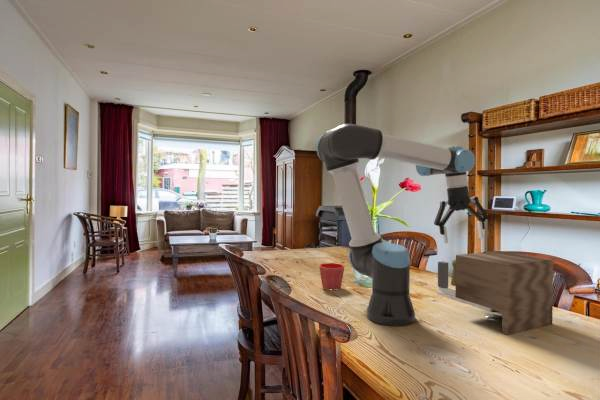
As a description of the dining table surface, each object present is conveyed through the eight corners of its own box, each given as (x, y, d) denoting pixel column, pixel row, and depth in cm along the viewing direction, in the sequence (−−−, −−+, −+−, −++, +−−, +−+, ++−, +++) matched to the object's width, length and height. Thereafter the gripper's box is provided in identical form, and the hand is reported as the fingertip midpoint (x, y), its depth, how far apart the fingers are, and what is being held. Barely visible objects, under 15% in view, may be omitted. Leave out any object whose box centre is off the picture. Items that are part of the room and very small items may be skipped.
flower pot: (348, 286, 154) (348, 264, 154) (337, 292, 144) (337, 269, 144) (326, 283, 159) (327, 262, 159) (314, 289, 150) (314, 266, 150)
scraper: (490, 311, 122) (491, 274, 121) (437, 294, 143) (437, 261, 143) (497, 310, 123) (497, 273, 123) (442, 293, 145) (443, 261, 145)
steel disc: (495, 323, 111) (495, 319, 111) (481, 318, 116) (481, 315, 116) (505, 320, 114) (505, 317, 114) (491, 315, 118) (491, 312, 118)
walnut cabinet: (506, 335, 101) (507, 264, 101) (455, 315, 117) (455, 255, 117) (552, 324, 110) (553, 259, 109) (498, 307, 126) (499, 250, 126)
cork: (467, 286, 154) (467, 261, 154) (452, 286, 156) (452, 260, 155) (463, 283, 160) (463, 259, 160) (449, 282, 161) (449, 258, 161)
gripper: (485, 181, 141) (491, 234, 142) (421, 190, 142) (428, 242, 144) (494, 182, 133) (500, 237, 135) (427, 191, 135) (434, 246, 136)
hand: (463, 240), depth 139 cm, fingers open, 13 cm apart
